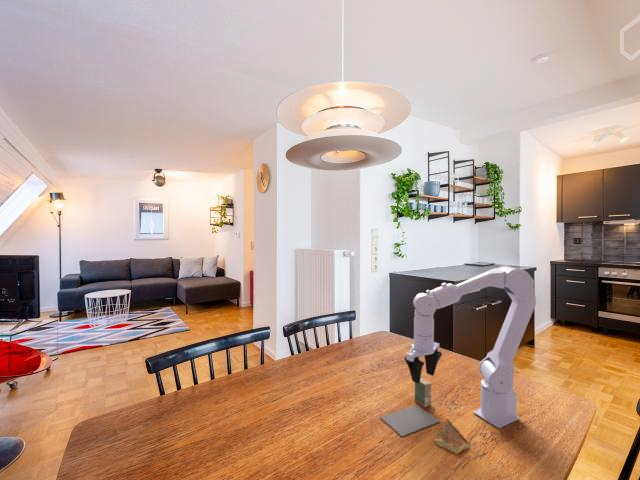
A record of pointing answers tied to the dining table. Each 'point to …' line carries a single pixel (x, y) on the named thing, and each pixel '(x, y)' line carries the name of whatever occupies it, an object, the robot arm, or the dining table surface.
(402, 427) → the felt mat
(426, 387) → the beech block
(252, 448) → the dining table surface
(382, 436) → the dining table surface
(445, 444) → the shard
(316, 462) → the dining table surface
